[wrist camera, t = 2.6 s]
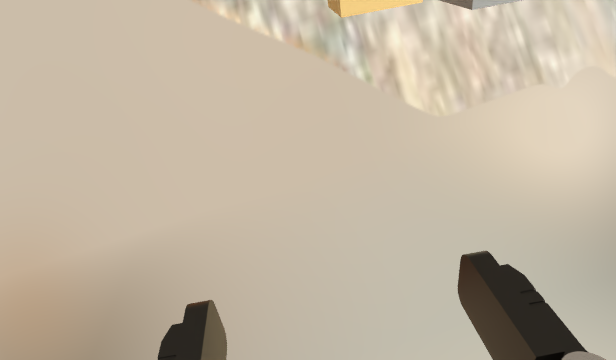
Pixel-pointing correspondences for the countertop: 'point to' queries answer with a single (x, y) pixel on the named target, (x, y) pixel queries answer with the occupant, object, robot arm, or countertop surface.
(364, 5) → the yellow bar
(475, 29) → the countertop surface
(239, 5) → the countertop surface
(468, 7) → the block
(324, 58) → the countertop surface
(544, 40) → the countertop surface
